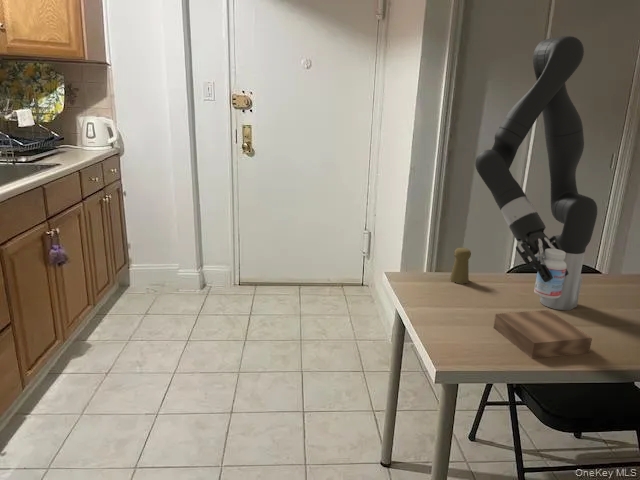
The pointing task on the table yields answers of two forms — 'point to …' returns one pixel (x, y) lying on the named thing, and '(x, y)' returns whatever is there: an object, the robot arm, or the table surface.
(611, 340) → the table surface
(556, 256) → the pill bottle
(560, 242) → the robot arm
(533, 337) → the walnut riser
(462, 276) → the cork
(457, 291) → the table surface
